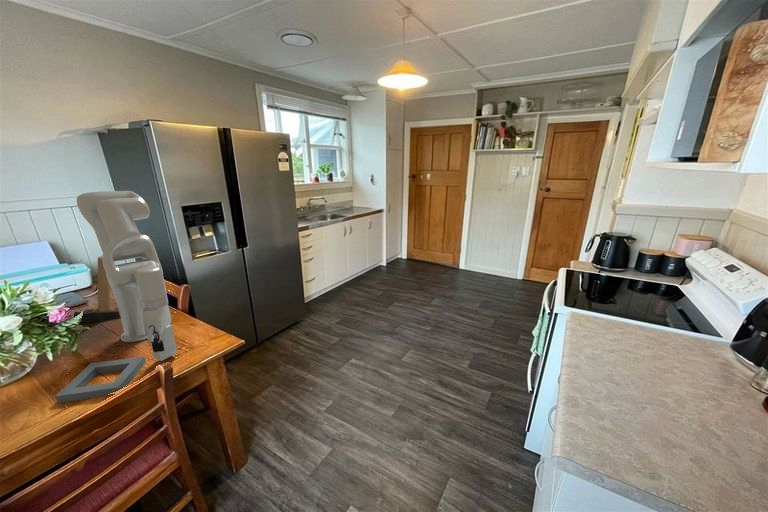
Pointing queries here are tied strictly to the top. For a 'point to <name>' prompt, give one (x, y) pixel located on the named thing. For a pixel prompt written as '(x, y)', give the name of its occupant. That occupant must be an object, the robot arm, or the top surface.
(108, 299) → the hammer
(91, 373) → the socket block
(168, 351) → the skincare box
